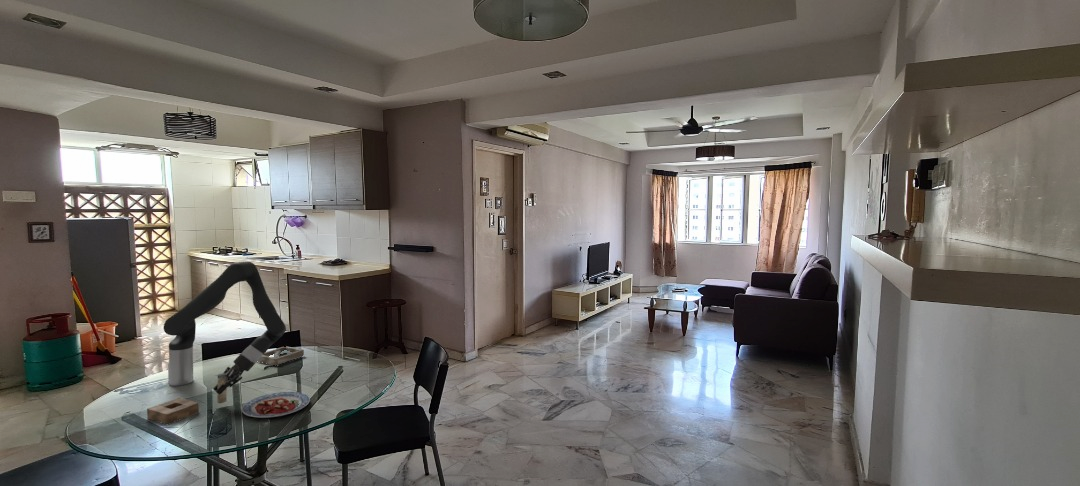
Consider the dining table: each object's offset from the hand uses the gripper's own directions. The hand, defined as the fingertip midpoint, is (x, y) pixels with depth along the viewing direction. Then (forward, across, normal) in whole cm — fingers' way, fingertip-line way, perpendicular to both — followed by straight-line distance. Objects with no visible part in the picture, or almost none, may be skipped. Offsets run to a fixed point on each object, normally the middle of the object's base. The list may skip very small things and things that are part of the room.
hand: (216, 391), depth 198 cm
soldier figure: (-24, -47, +35) cm, 63 cm away
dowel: (+2, 0, +5) cm, 5 cm away
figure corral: (-26, -47, +36) cm, 64 cm away
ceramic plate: (-7, +17, +18) cm, 26 cm away
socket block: (+15, -3, -5) cm, 16 cm away
